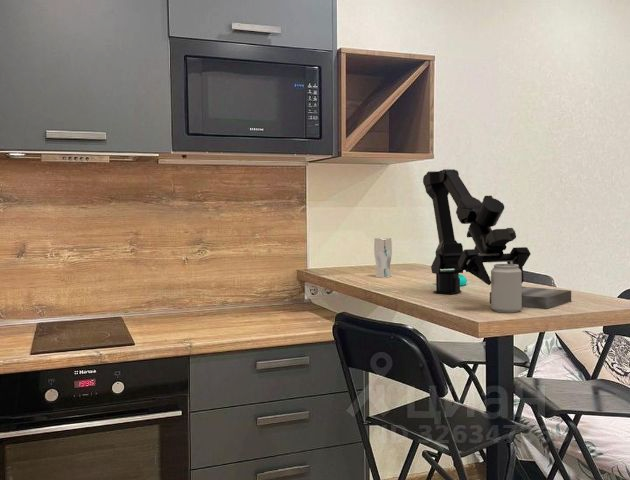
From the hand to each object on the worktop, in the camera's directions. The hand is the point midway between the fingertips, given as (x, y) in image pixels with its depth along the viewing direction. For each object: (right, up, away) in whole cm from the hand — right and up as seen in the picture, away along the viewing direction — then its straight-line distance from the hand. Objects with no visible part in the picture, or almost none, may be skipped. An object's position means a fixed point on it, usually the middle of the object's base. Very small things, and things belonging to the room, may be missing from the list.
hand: (506, 283), depth 153 cm
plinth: (+11, -6, +12) cm, 18 cm away
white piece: (-22, -4, +80) cm, 83 cm away
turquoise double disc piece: (-2, -5, +52) cm, 52 cm away
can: (0, -7, 0) cm, 7 cm away
